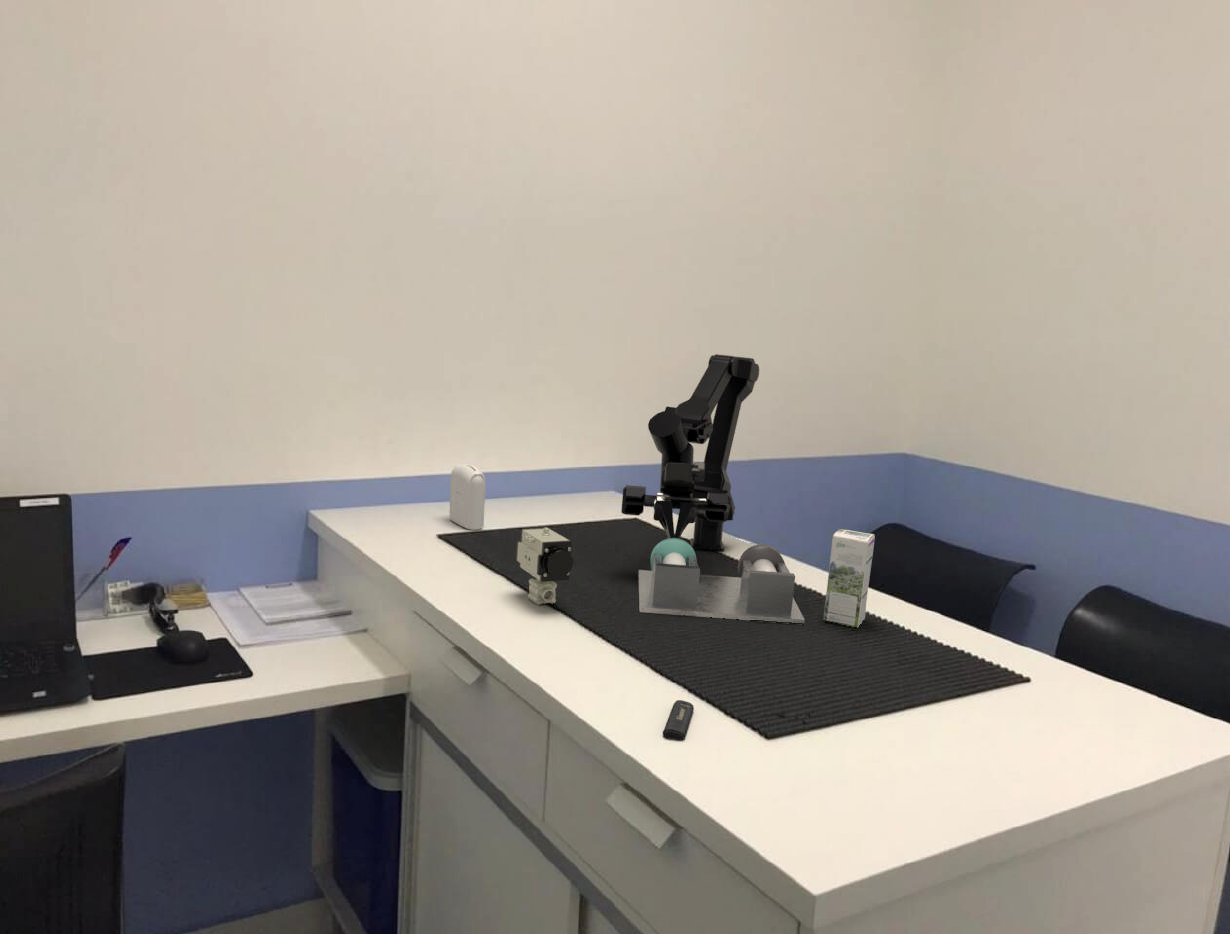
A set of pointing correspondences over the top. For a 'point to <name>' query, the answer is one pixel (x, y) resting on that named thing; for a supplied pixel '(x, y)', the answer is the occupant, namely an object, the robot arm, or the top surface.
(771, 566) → the dark grey rounded piece
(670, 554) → the teal knob
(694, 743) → the top surface
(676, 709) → the usb stick
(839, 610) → the syrup box
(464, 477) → the photo printer
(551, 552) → the pneumatic valve
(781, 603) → the mount
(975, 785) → the top surface
